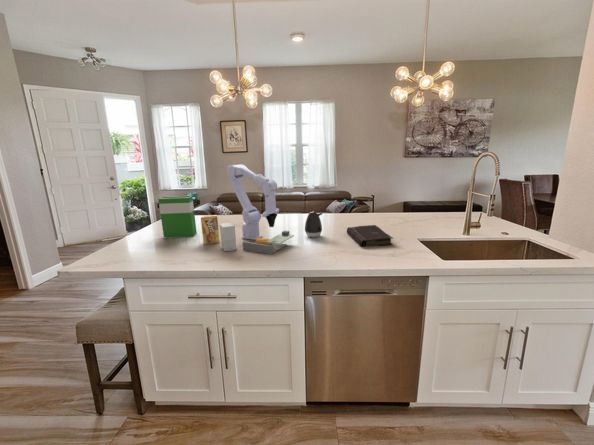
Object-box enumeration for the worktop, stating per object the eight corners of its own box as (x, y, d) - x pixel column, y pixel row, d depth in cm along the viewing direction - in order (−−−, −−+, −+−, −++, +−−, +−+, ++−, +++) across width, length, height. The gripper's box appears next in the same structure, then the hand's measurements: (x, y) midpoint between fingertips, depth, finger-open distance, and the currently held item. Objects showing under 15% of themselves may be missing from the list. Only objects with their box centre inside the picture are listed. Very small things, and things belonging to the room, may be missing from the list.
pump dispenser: (321, 239, 167) (321, 213, 163) (303, 238, 169) (303, 212, 165) (323, 234, 176) (323, 209, 173) (306, 233, 179) (306, 209, 175)
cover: (281, 234, 163) (281, 229, 162) (293, 236, 159) (293, 231, 159) (266, 242, 150) (265, 237, 149) (279, 244, 146) (279, 239, 145)
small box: (236, 249, 153) (234, 225, 150) (224, 251, 151) (222, 227, 147) (233, 245, 160) (231, 222, 157) (221, 247, 158) (219, 223, 154)
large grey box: (242, 249, 153) (242, 242, 152) (259, 241, 166) (258, 234, 165) (272, 254, 145) (271, 246, 144) (286, 245, 158) (286, 238, 157)
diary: (360, 248, 152) (360, 239, 151) (346, 235, 176) (346, 227, 175) (394, 246, 154) (394, 237, 153) (376, 232, 178) (376, 224, 177)
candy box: (219, 240, 169) (216, 214, 165) (219, 242, 165) (217, 216, 162) (203, 242, 166) (200, 216, 163) (203, 244, 163) (200, 217, 159)
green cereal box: (163, 237, 177) (158, 198, 171) (168, 234, 184) (163, 196, 178) (193, 236, 178) (188, 197, 172) (196, 233, 185) (192, 195, 179)
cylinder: (255, 243, 159) (255, 237, 159) (258, 243, 162) (258, 237, 162) (270, 245, 155) (271, 239, 155) (273, 245, 158) (274, 239, 158)
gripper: (269, 206, 152) (270, 230, 155) (283, 201, 164) (284, 224, 168) (258, 205, 155) (259, 229, 159) (272, 200, 168) (273, 223, 171)
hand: (271, 226), depth 163 cm, fingers closed
